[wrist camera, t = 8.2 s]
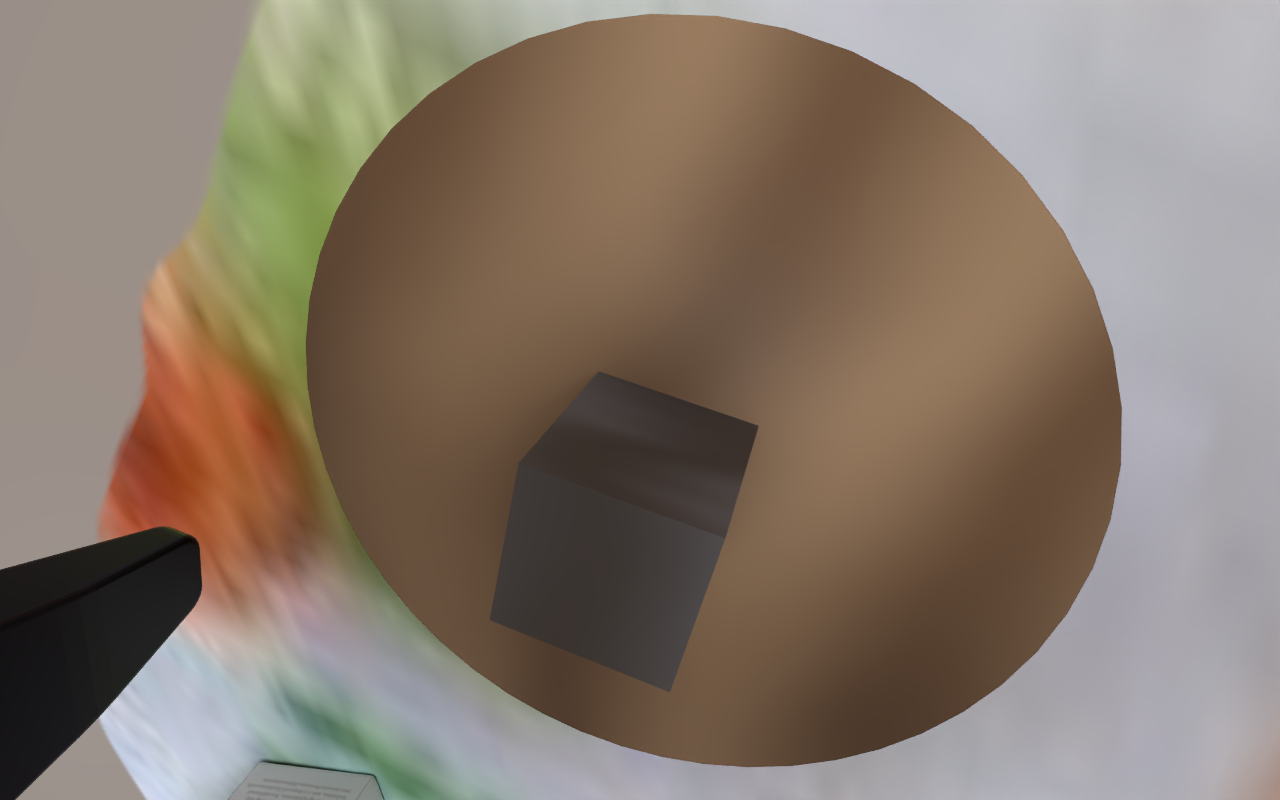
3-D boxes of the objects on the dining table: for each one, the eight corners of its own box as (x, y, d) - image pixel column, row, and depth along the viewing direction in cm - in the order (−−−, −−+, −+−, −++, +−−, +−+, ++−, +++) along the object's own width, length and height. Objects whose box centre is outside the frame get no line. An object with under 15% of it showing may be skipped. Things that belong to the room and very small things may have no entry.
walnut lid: (1325, 170, 10) (1607, 233, 6) (897, 829, 17) (906, 1050, 13) (347, -85, 12) (112, -153, 8) (320, 594, 19) (185, 725, 15)
